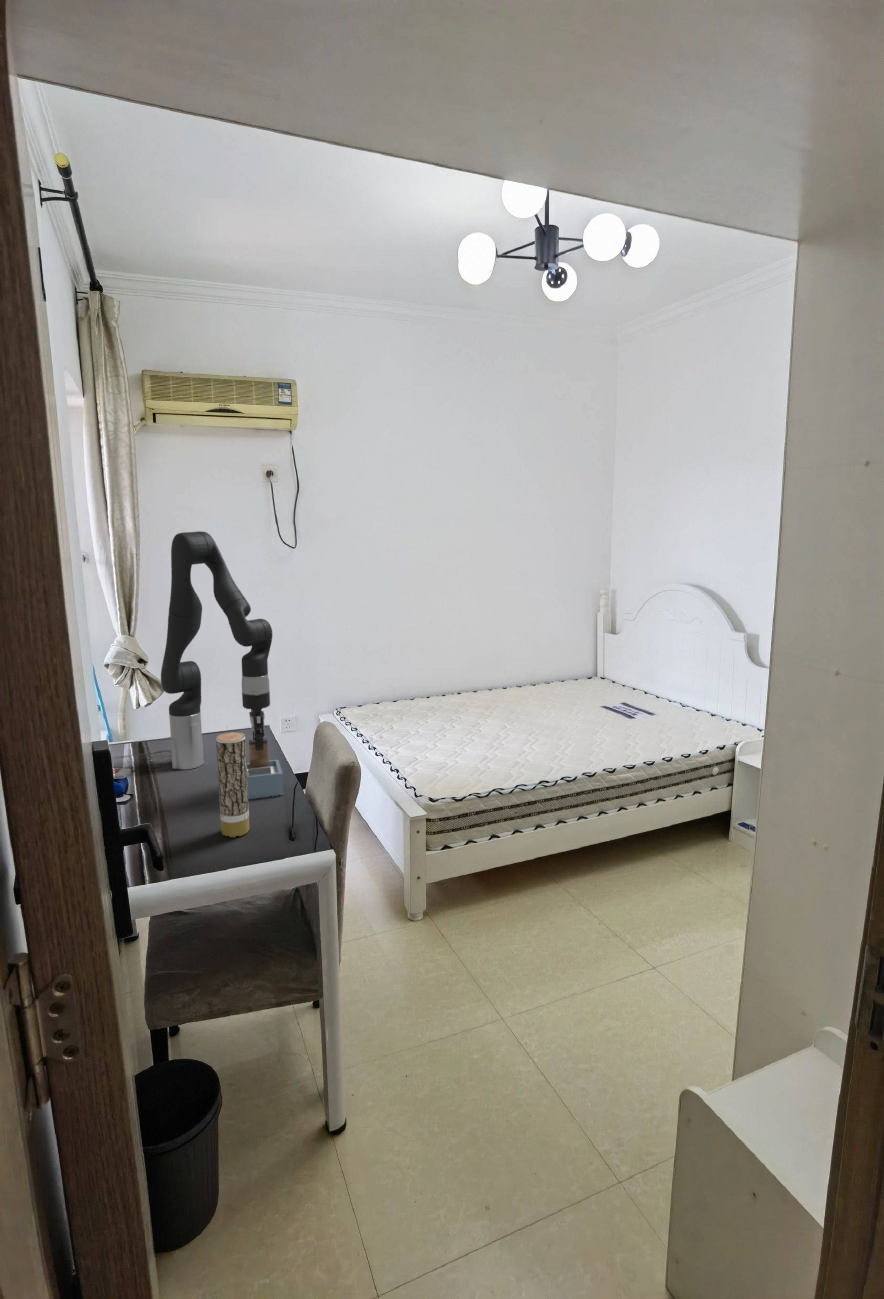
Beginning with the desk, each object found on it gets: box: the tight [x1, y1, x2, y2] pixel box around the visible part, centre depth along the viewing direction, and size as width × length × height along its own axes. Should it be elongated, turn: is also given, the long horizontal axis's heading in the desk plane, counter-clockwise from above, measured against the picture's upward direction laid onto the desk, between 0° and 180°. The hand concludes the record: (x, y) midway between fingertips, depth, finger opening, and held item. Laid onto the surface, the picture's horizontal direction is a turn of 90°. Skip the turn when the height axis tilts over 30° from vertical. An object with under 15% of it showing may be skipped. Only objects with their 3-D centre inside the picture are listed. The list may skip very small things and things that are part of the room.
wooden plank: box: [248, 738, 269, 768], centre depth 196 cm, size 5×2×10 cm, turn 109°
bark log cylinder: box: [215, 732, 250, 838], centre depth 169 cm, size 7×7×25 cm
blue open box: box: [246, 759, 284, 800], centre depth 197 cm, size 12×12×8 cm
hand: (258, 745), depth 195 cm, fingers open, 8 cm apart
